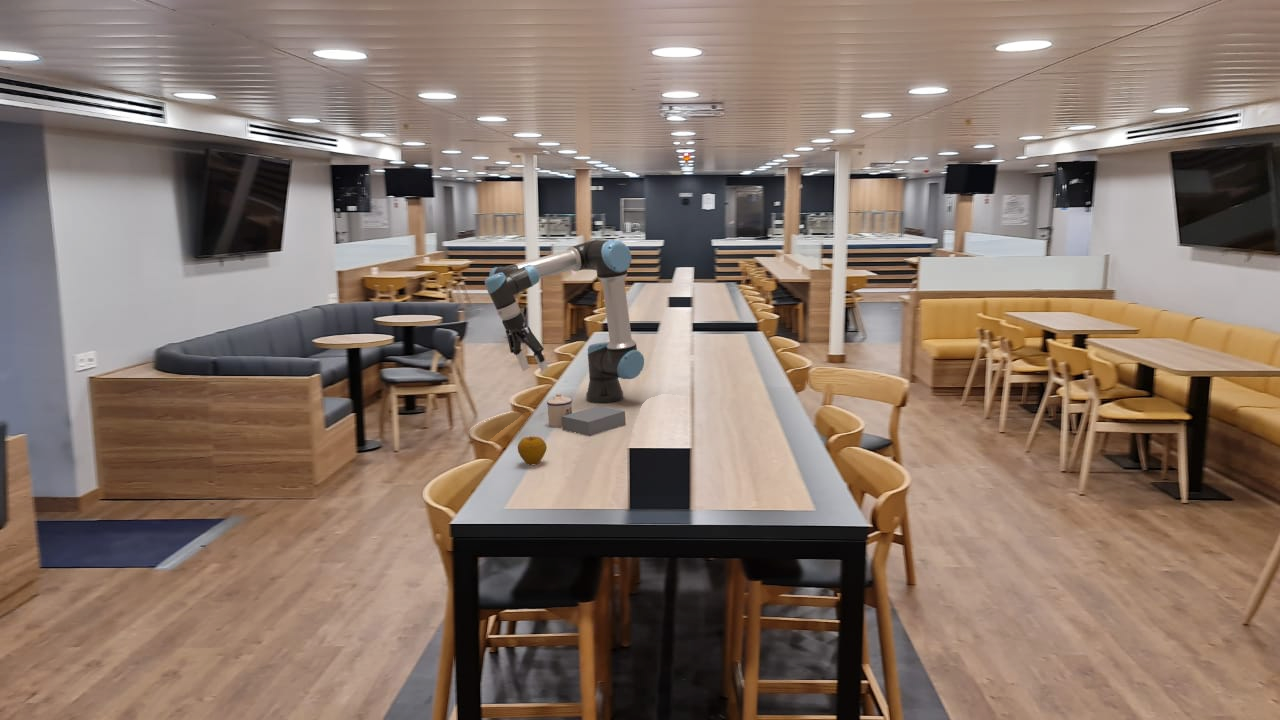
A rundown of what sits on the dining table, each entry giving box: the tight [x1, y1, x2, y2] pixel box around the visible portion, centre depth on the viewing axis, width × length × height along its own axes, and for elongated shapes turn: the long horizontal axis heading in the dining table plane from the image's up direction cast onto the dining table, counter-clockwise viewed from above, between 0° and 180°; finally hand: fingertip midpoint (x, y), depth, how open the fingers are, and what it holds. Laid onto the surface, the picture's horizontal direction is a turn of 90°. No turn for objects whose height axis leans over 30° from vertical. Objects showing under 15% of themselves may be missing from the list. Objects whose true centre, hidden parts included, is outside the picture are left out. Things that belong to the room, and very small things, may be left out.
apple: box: [517, 435, 548, 466], centre depth 276 cm, size 9×9×9 cm
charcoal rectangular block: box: [561, 405, 626, 437], centre depth 316 cm, size 18×14×5 cm
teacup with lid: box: [546, 392, 573, 428], centre depth 323 cm, size 12×9×12 cm
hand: (535, 369), depth 316 cm, fingers open, 13 cm apart
